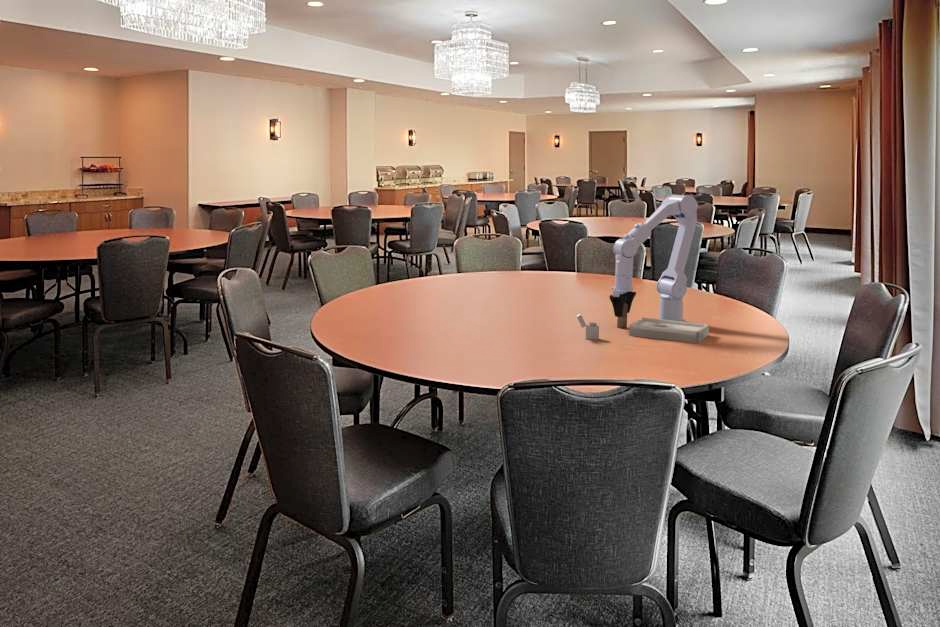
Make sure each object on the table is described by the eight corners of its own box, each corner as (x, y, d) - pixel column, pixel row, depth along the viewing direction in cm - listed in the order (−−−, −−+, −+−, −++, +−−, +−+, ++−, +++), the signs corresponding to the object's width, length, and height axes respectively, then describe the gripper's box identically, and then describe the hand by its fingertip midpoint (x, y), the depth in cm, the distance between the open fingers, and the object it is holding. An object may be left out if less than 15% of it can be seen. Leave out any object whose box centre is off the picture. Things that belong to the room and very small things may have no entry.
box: (641, 327, 244) (642, 317, 243) (708, 335, 233) (709, 324, 232) (629, 335, 233) (629, 324, 233) (698, 343, 222) (699, 332, 221)
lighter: (598, 338, 229) (599, 313, 228) (598, 339, 228) (599, 314, 226) (576, 337, 231) (576, 313, 229) (576, 339, 229) (576, 314, 227)
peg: (618, 325, 247) (619, 303, 245) (628, 327, 245) (628, 303, 244) (615, 327, 244) (616, 304, 243) (624, 328, 243) (625, 305, 241)
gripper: (619, 271, 249) (618, 309, 252) (604, 276, 237) (603, 317, 240) (639, 272, 246) (637, 311, 248) (625, 278, 233) (623, 319, 236)
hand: (622, 314), depth 244 cm, fingers open, 7 cm apart
